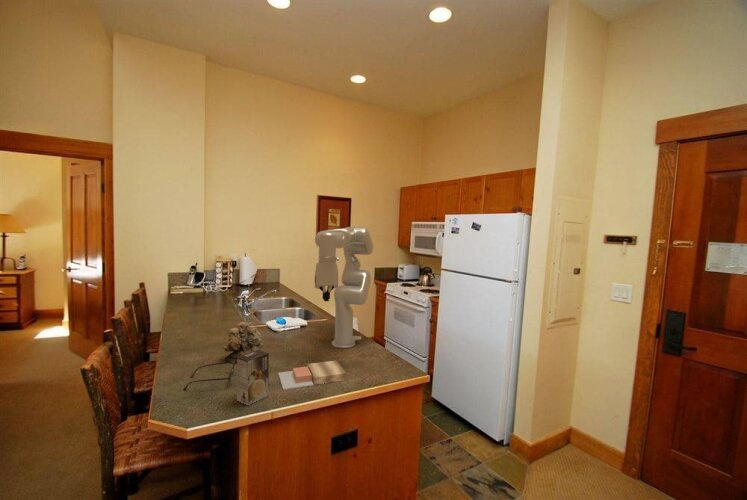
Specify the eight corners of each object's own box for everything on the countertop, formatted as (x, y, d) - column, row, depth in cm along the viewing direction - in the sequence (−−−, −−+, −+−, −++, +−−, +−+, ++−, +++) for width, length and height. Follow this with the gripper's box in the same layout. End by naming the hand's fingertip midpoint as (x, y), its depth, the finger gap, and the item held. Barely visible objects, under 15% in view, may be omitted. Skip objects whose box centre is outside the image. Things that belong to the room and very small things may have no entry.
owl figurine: (226, 367, 147) (226, 328, 145) (219, 358, 156) (219, 322, 155) (267, 358, 158) (267, 322, 157) (258, 350, 167) (258, 316, 166)
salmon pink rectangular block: (307, 371, 143) (307, 366, 143) (311, 381, 134) (311, 375, 134) (292, 373, 140) (292, 368, 140) (296, 383, 132) (296, 377, 132)
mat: (305, 370, 146) (306, 369, 145) (313, 385, 132) (313, 384, 132) (278, 374, 141) (278, 372, 141) (283, 390, 127) (283, 388, 127)
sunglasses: (191, 375, 138) (191, 363, 138) (235, 371, 143) (235, 360, 142) (180, 394, 122) (180, 381, 122) (230, 390, 127) (230, 377, 127)
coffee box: (257, 390, 126) (257, 349, 125) (269, 395, 123) (269, 352, 122) (235, 401, 118) (236, 356, 117) (247, 406, 115) (248, 360, 114)
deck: (336, 366, 150) (336, 360, 150) (345, 380, 137) (346, 373, 137) (307, 370, 145) (307, 364, 145) (314, 385, 132) (314, 377, 132)
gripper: (340, 259, 157) (339, 298, 158) (308, 259, 151) (307, 299, 152) (345, 261, 150) (344, 301, 151) (312, 261, 144) (311, 303, 145)
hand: (326, 300), depth 151 cm, fingers closed
